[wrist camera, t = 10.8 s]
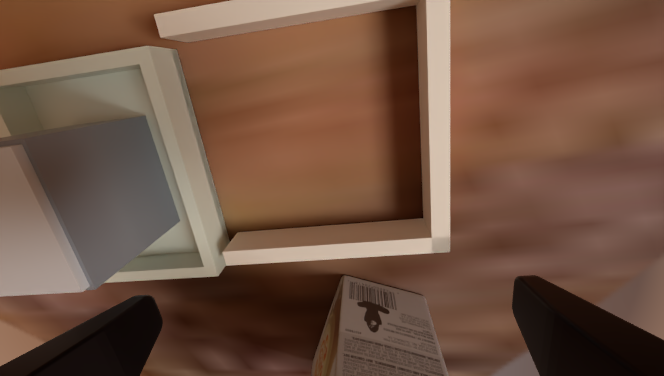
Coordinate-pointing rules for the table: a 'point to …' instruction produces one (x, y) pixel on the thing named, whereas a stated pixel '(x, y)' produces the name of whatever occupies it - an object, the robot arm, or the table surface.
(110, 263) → the grey block
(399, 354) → the coffee box
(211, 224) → the tray
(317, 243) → the bay
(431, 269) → the table surface
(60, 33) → the table surface
